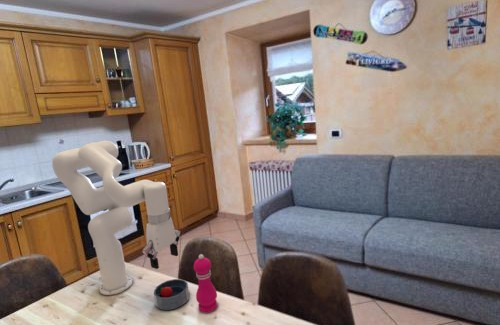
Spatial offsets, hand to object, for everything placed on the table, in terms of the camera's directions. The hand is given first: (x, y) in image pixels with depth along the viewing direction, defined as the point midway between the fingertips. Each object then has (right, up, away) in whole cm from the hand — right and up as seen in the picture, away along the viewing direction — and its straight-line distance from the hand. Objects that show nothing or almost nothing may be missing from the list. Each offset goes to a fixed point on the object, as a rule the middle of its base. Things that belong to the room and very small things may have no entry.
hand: (165, 261), depth 114 cm
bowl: (+2, -15, +2) cm, 16 cm away
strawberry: (+2, -14, +2) cm, 14 cm away
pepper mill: (+16, -15, -4) cm, 22 cm away
